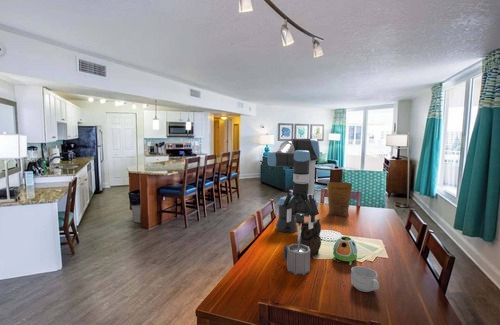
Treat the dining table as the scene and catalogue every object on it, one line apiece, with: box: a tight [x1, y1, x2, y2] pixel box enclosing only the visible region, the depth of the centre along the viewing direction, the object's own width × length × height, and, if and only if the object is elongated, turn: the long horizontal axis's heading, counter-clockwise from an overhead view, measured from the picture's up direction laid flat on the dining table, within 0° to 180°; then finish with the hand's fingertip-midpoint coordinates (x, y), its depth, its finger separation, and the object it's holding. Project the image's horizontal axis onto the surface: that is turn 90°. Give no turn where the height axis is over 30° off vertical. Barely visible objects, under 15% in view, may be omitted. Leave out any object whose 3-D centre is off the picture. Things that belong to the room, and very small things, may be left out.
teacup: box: [350, 265, 380, 293], centre depth 120 cm, size 14×11×8 cm
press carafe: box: [283, 243, 311, 276], centre depth 138 cm, size 14×11×11 cm
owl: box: [300, 218, 322, 258], centre depth 154 cm, size 13×13×20 cm
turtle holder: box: [332, 235, 358, 266], centre depth 150 cm, size 12×18×12 cm
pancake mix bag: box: [326, 181, 353, 217], centre depth 226 cm, size 7×19×28 cm, turn 63°
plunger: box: [291, 213, 306, 252], centre depth 136 cm, size 8×8×19 cm
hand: (299, 224), depth 135 cm, fingers open, 12 cm apart
